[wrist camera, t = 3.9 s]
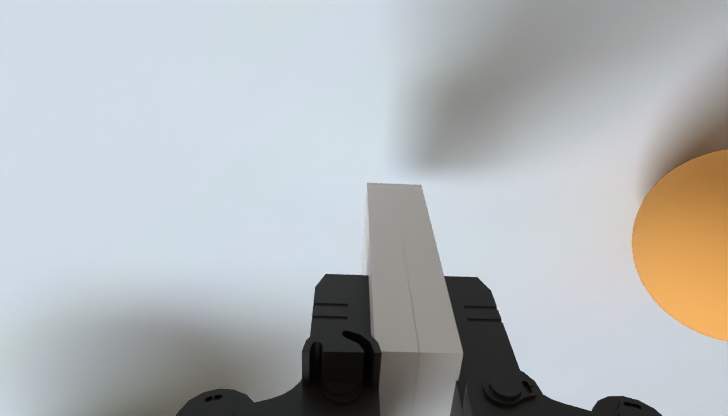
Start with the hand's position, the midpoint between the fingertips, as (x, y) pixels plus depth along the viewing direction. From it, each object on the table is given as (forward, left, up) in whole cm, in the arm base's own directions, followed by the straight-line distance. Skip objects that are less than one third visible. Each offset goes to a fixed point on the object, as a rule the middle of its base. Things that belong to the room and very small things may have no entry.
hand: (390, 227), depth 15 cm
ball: (0, -10, 0) cm, 10 cm away
